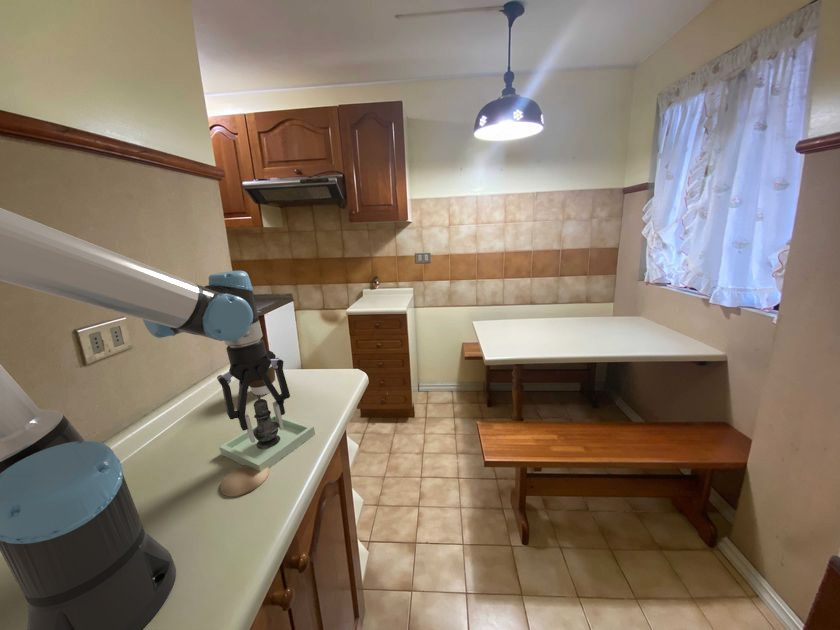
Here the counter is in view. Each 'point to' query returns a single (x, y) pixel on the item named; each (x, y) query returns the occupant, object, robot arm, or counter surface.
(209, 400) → the counter surface
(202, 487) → the counter surface
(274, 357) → the coffee cup
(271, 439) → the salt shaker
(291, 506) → the counter surface
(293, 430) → the tray
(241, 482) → the cork coaster
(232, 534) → the counter surface
